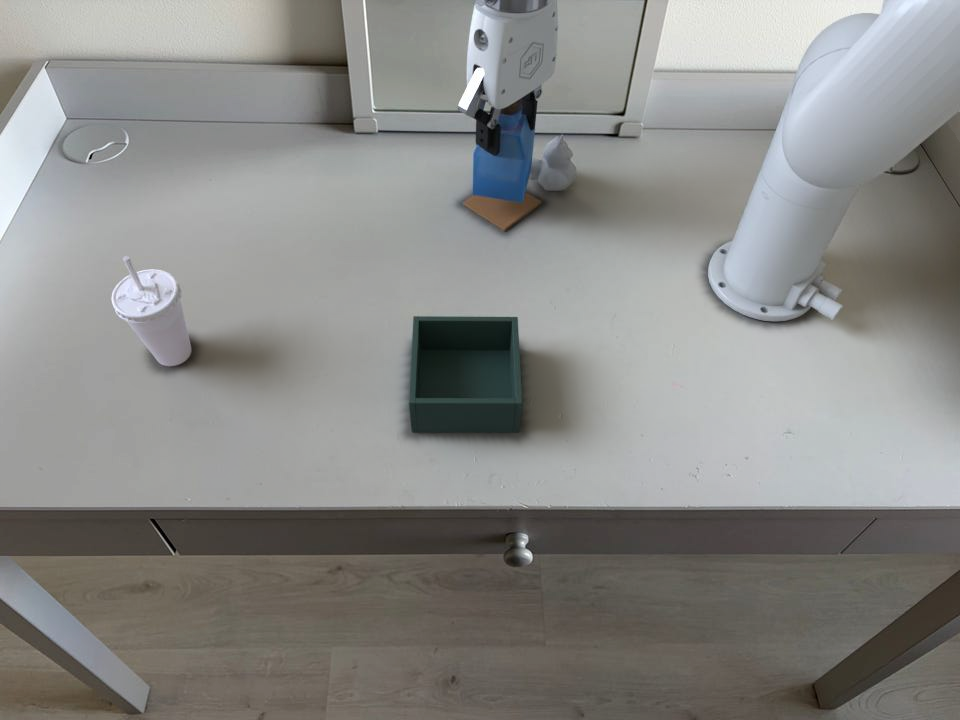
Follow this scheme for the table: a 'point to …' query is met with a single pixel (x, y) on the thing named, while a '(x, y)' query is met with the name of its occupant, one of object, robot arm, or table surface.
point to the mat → (501, 209)
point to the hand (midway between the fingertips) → (505, 136)
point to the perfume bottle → (506, 159)
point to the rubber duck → (554, 166)
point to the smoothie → (154, 312)
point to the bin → (465, 374)
